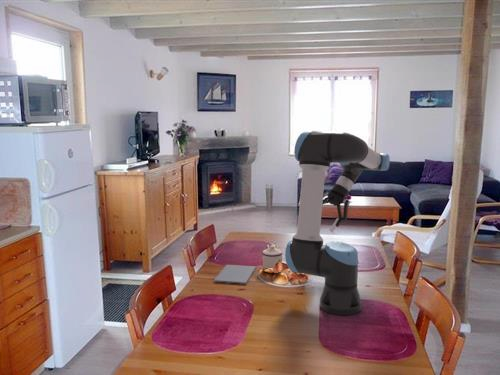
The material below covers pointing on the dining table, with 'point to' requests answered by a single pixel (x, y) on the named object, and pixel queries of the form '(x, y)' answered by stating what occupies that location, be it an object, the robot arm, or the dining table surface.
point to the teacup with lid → (271, 257)
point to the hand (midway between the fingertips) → (318, 225)
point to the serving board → (235, 274)
